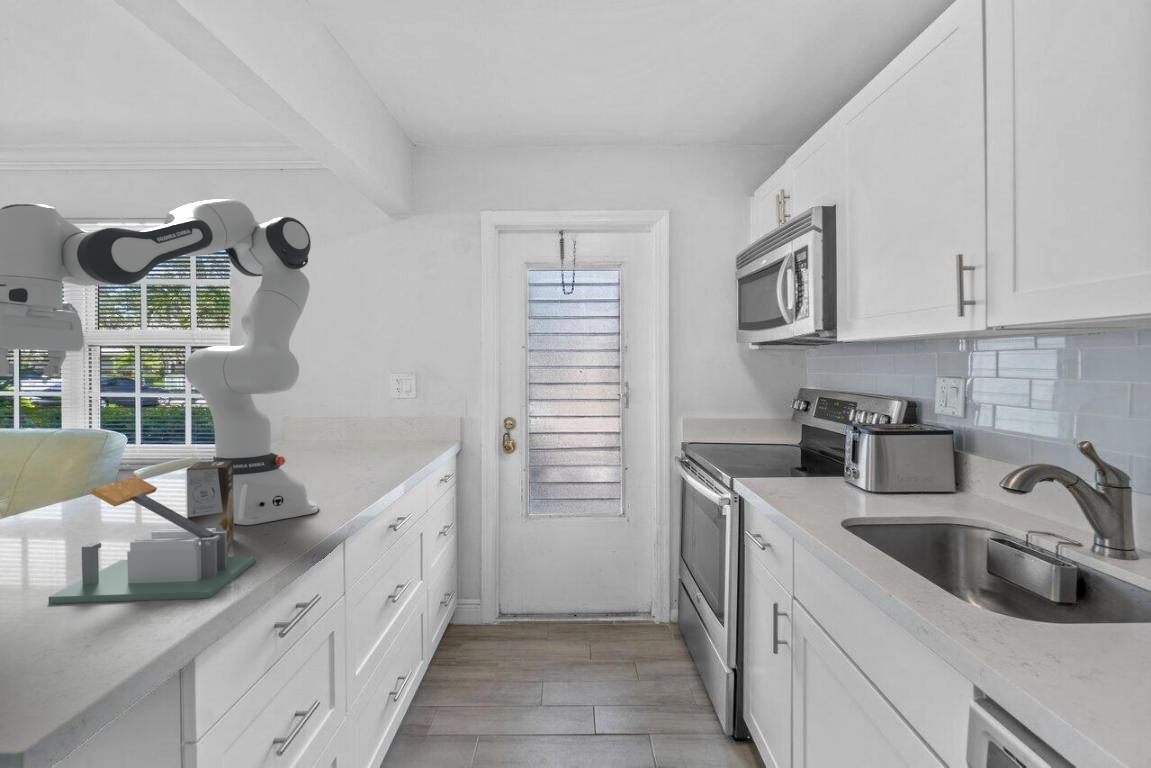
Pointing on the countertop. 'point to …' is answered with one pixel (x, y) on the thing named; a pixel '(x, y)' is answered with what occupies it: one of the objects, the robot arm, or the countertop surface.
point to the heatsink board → (148, 590)
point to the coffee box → (212, 496)
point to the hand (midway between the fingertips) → (29, 376)
